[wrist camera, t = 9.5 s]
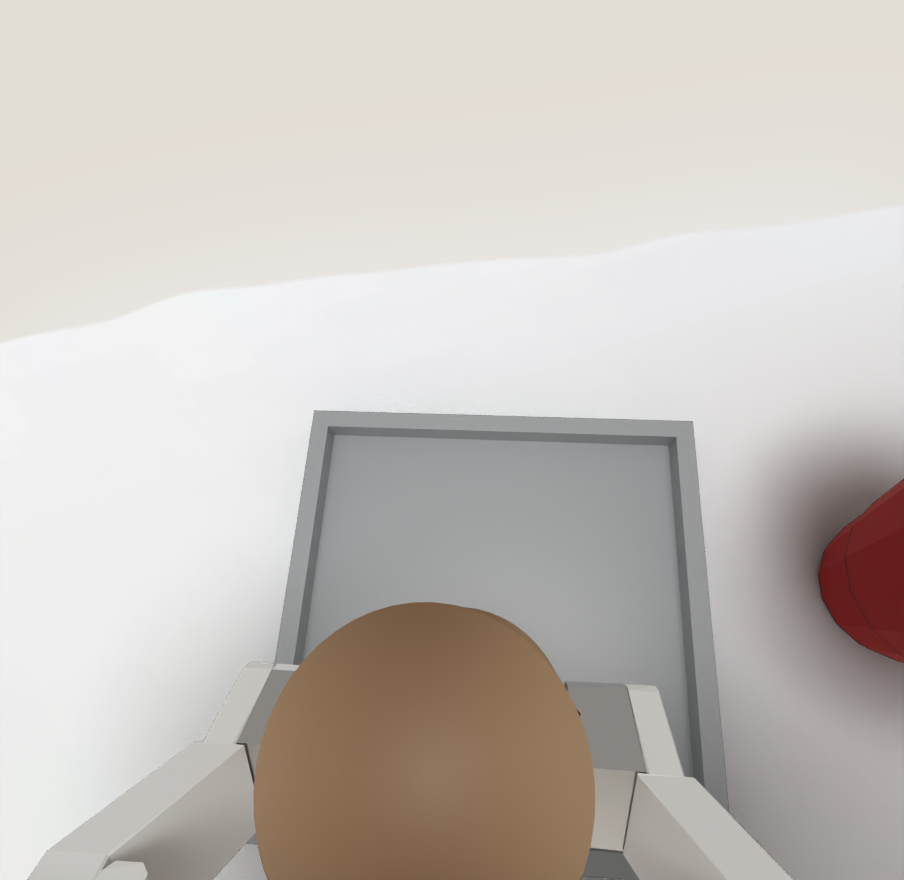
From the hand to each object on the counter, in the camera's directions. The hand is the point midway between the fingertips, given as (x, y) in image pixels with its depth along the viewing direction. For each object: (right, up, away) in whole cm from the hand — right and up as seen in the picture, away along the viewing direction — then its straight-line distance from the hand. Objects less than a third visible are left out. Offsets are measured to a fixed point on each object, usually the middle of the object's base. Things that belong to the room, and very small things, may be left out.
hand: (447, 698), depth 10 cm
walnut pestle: (0, -2, +4) cm, 5 cm away
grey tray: (+2, -3, +16) cm, 16 cm away
